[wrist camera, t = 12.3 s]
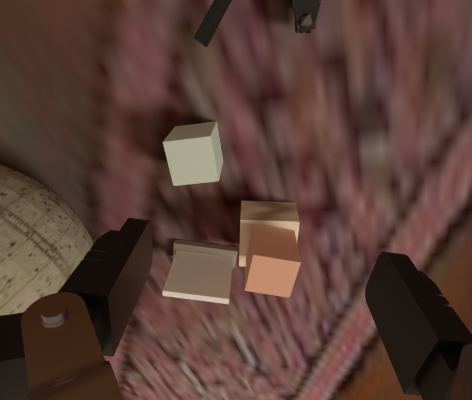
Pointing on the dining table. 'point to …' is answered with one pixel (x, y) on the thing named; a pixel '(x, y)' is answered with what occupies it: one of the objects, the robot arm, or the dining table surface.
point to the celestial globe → (35, 241)
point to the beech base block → (265, 220)
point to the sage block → (194, 153)
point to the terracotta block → (271, 261)
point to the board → (201, 271)
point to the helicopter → (302, 3)
